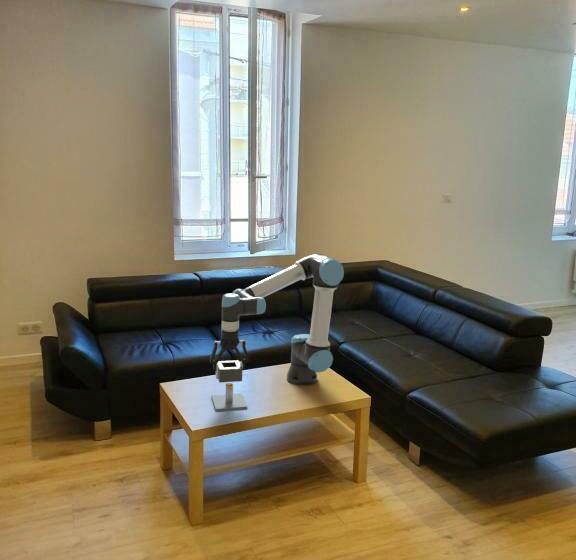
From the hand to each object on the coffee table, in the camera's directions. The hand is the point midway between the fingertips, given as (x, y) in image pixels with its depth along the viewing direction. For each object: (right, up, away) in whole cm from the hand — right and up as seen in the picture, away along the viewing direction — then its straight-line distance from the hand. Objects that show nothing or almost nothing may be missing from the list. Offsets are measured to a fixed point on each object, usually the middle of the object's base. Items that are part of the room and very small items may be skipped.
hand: (228, 377), depth 257 cm
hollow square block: (0, 0, 0) cm, 0 cm away
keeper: (0, -12, +3) cm, 13 cm away
